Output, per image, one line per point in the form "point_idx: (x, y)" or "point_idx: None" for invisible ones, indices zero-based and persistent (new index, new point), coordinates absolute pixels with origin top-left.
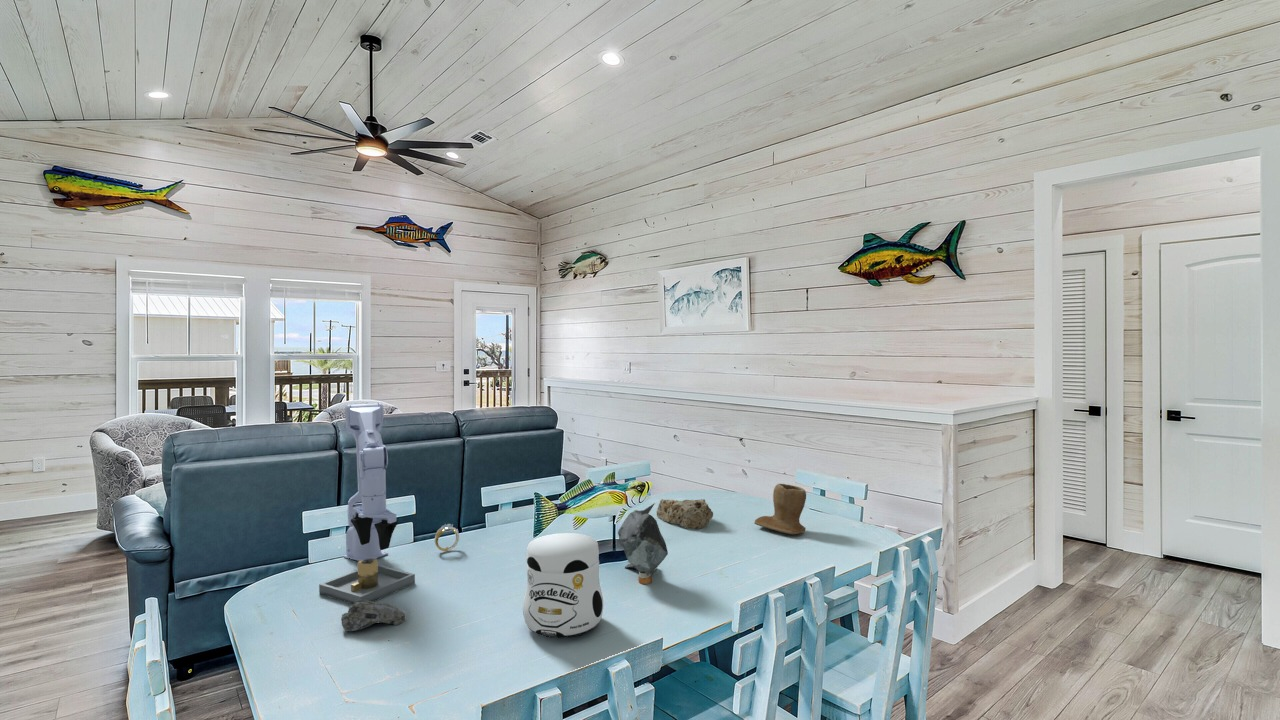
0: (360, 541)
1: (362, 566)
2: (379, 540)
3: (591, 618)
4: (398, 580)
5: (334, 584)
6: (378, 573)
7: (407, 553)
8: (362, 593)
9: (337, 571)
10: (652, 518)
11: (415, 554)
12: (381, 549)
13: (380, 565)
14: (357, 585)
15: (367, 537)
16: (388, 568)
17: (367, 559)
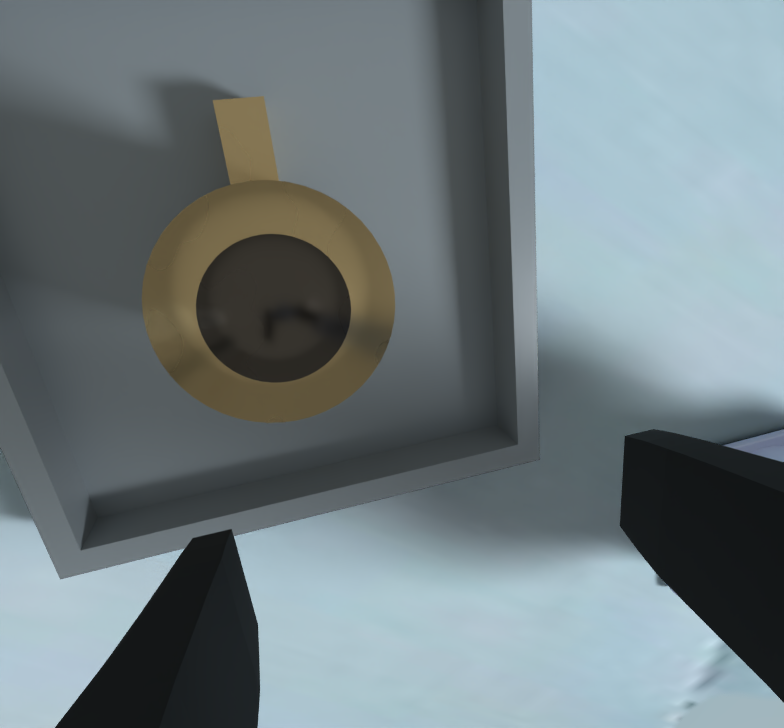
0: (685, 441)
1: (202, 198)
2: (159, 651)
3: None
4: (7, 434)
5: (487, 82)
6: (430, 427)
7: (592, 658)
8: (125, 139)
9: (720, 288)
10: None
11: (543, 681)
12: (197, 539)
13: (469, 474)
14: (224, 144)
15: (684, 559)
16: (361, 489)
17: (356, 347)
